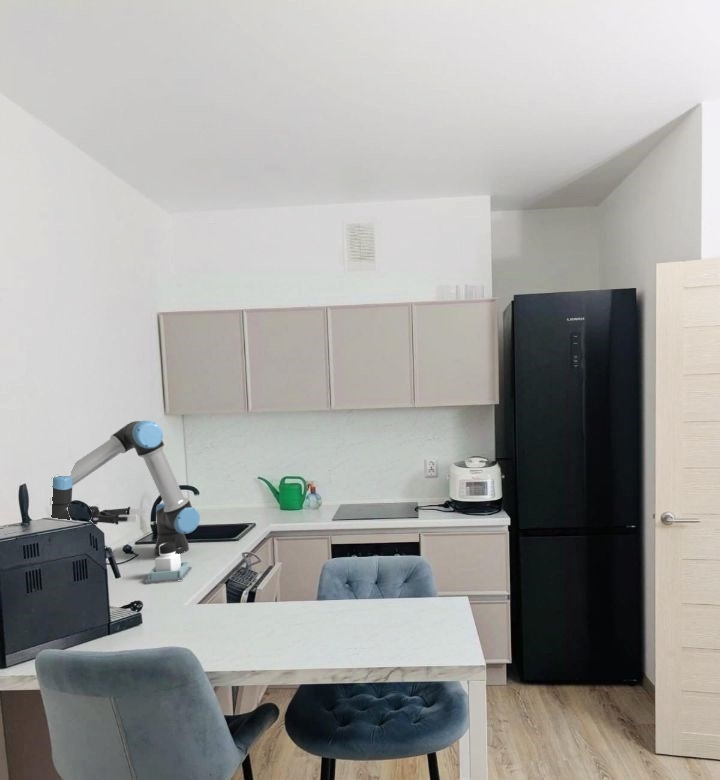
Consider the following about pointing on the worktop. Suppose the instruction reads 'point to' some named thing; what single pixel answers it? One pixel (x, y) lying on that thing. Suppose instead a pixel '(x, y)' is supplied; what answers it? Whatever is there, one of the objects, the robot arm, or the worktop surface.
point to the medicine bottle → (167, 558)
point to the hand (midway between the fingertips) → (141, 515)
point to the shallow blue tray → (168, 574)
